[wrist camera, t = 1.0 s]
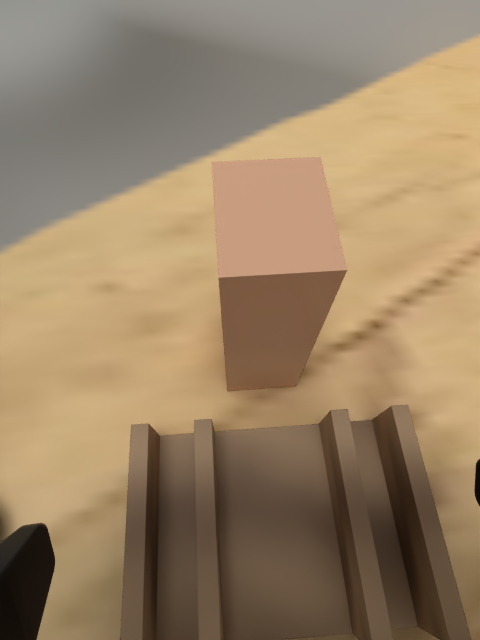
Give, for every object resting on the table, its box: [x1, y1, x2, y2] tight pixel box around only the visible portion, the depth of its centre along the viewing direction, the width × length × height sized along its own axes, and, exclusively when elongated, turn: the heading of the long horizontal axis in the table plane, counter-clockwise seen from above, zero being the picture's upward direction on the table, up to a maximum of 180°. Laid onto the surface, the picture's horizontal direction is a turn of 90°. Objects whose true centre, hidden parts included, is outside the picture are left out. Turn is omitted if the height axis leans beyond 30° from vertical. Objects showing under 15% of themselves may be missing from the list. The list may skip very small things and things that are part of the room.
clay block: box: [212, 157, 347, 391], centre depth 19 cm, size 5×4×12 cm
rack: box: [120, 405, 471, 640], centre depth 18 cm, size 9×13×4 cm
